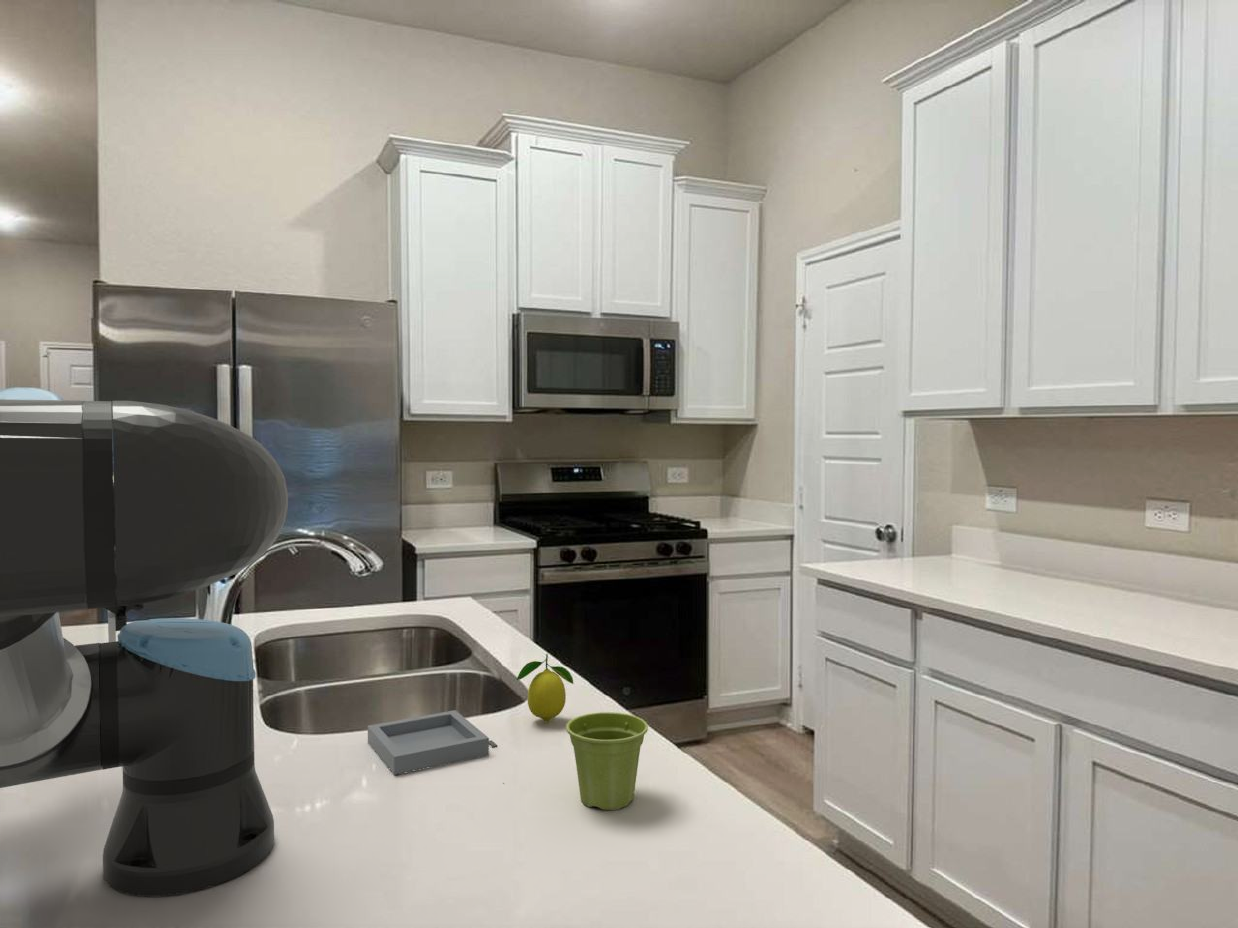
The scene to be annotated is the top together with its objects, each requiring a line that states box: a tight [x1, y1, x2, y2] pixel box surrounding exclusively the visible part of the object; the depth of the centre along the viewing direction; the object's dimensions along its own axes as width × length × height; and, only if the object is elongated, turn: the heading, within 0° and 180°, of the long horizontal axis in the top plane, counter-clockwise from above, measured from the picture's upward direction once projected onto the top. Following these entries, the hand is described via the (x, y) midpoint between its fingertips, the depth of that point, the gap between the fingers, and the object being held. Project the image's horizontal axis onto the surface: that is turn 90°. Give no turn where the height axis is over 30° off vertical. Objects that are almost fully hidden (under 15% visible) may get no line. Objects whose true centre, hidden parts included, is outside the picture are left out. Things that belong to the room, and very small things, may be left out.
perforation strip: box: [482, 732, 498, 748], centre depth 116 cm, size 9×1×1 cm, turn 31°
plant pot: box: [565, 711, 649, 811], centre depth 96 cm, size 9×9×9 cm
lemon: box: [516, 653, 574, 723], centre depth 121 cm, size 7×6×10 cm
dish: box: [367, 709, 490, 776], centre depth 111 cm, size 12×12×2 cm
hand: (46, 653), depth 100 cm, fingers open, 13 cm apart
